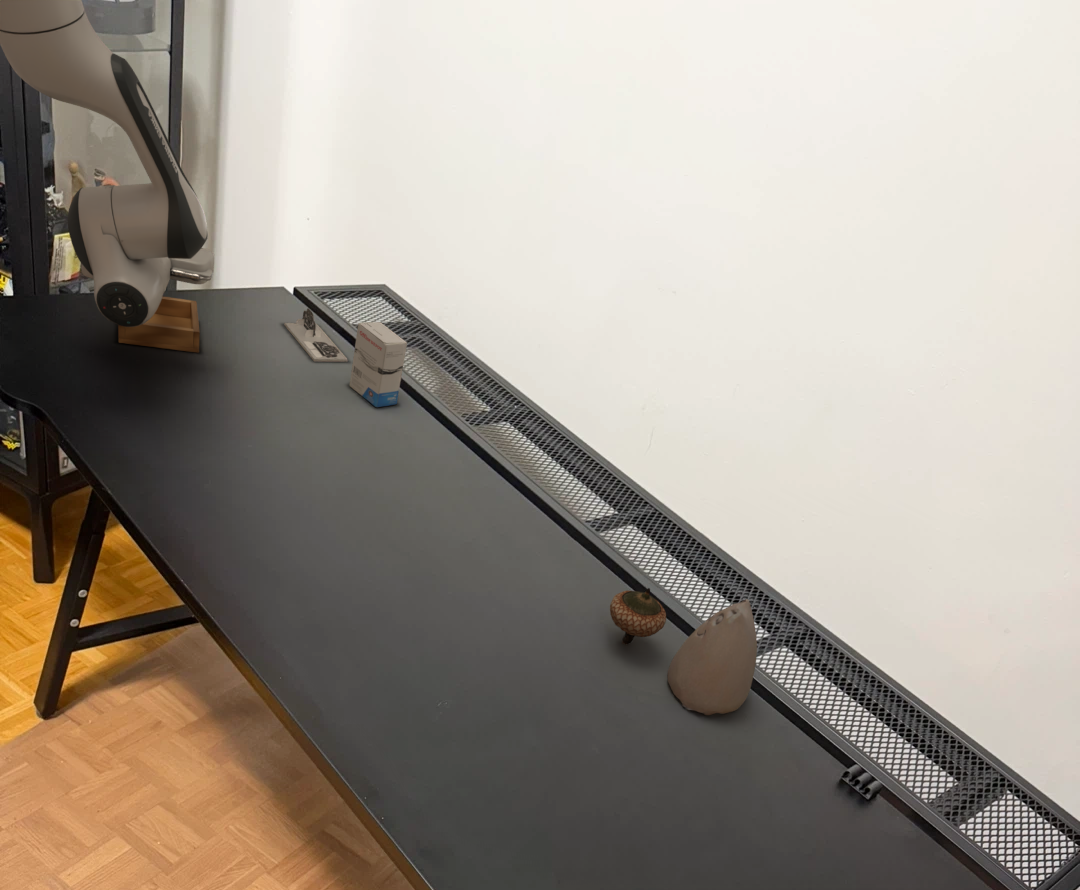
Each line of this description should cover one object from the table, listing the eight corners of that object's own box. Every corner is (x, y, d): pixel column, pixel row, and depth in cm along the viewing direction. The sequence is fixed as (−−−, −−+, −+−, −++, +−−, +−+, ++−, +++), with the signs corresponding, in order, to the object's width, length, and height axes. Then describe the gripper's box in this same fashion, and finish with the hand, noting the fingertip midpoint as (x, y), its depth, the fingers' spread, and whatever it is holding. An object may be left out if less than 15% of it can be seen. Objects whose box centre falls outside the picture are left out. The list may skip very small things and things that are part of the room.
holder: (118, 342, 173) (118, 321, 171) (119, 311, 182) (119, 289, 179) (198, 352, 178) (199, 331, 176) (195, 321, 187) (196, 301, 184)
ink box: (398, 405, 183) (409, 342, 175) (375, 408, 180) (386, 344, 172) (370, 382, 187) (380, 320, 179) (347, 385, 183) (356, 321, 176)
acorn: (610, 663, 142) (633, 606, 135) (589, 626, 147) (610, 569, 141) (661, 662, 145) (685, 606, 139) (639, 625, 150) (661, 570, 144)
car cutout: (284, 325, 195) (286, 301, 192) (316, 325, 199) (319, 303, 196) (314, 361, 187) (316, 337, 184) (347, 361, 191) (350, 338, 188)
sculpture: (662, 652, 147) (698, 567, 137) (738, 670, 149) (780, 587, 139) (668, 710, 137) (708, 623, 127) (750, 728, 139) (795, 643, 129)
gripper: (211, 261, 158) (221, 232, 168) (69, 231, 153) (88, 202, 163) (209, 301, 162) (219, 270, 172) (71, 273, 157) (89, 243, 167)
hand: (154, 237), depth 167 cm, fingers closed on supplement bottle, 5 cm apart
